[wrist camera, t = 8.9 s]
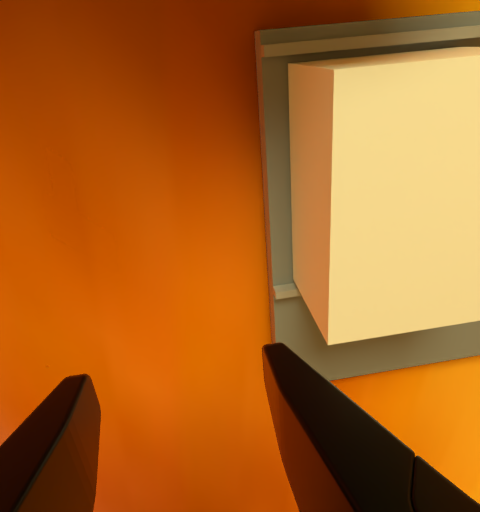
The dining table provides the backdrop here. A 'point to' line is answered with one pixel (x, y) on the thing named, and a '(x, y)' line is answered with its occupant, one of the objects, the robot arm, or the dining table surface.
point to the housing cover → (386, 191)
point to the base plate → (279, 188)
